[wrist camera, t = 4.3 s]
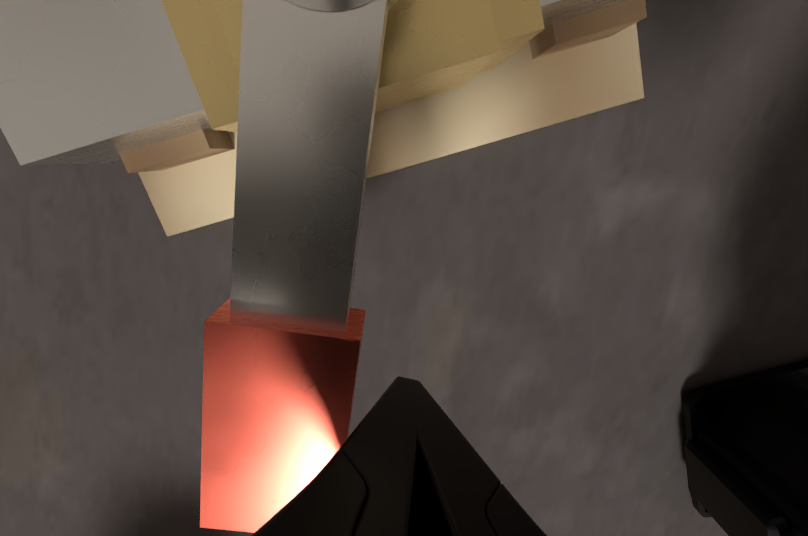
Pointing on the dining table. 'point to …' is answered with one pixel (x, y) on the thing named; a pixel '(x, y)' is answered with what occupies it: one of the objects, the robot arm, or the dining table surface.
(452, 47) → the valve and pipe
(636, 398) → the dining table surface
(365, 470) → the robot arm
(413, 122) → the birch rig board
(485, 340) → the dining table surface
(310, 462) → the ball valve lever
